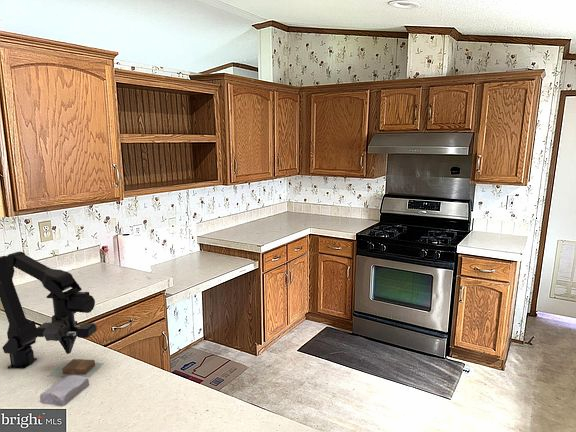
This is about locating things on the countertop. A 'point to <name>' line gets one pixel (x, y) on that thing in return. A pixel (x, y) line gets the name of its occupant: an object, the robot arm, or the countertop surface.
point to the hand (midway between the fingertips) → (68, 353)
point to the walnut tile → (78, 366)
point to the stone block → (64, 390)
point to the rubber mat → (59, 373)
